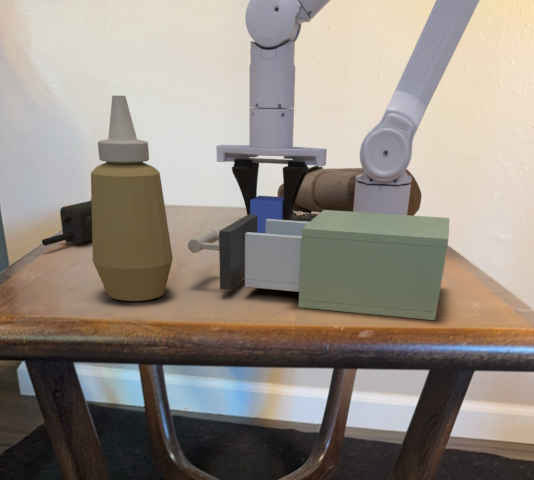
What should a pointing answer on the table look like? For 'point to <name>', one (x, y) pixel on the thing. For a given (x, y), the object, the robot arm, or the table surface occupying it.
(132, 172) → the squeeze bottle
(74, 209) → the walkie-talkie
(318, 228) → the drawer cabinet
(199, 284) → the table surface
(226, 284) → the grey drawer
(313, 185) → the boot
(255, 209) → the blue rounded cube
